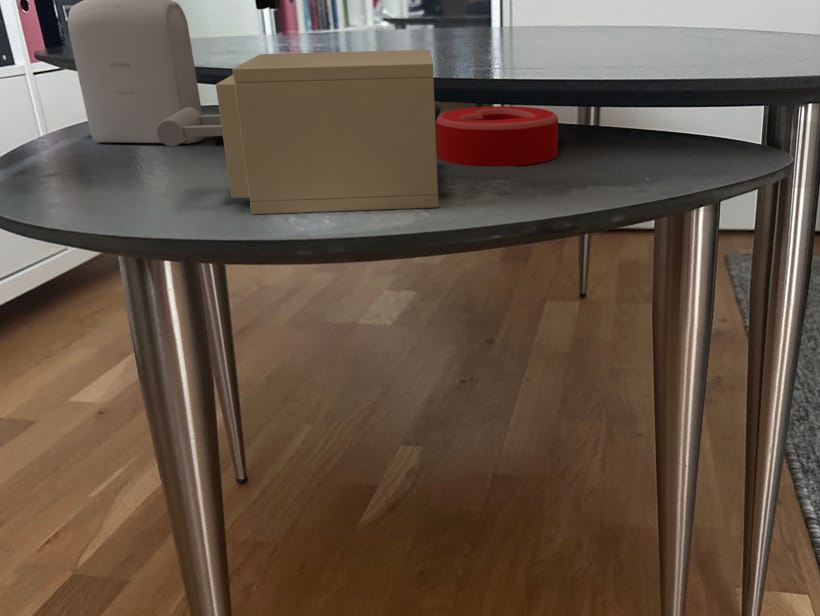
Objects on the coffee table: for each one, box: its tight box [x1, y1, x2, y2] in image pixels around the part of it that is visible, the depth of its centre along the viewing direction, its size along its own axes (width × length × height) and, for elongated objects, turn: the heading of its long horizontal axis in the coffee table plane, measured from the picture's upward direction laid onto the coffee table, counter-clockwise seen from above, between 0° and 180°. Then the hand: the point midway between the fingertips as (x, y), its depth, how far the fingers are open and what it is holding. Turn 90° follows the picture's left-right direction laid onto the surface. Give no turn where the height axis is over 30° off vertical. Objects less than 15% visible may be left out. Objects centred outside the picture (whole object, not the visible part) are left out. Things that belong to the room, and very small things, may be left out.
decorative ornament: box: [435, 105, 559, 167], centre depth 68 cm, size 10×10×3 cm
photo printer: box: [67, 0, 205, 145], centre depth 74 cm, size 10×4×12 cm, turn 78°
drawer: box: [157, 74, 250, 199], centre depth 55 cm, size 15×8×7 cm, turn 94°
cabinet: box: [232, 49, 440, 215], centre depth 55 cm, size 12×10×9 cm
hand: (268, 7), depth 73 cm, fingers closed
